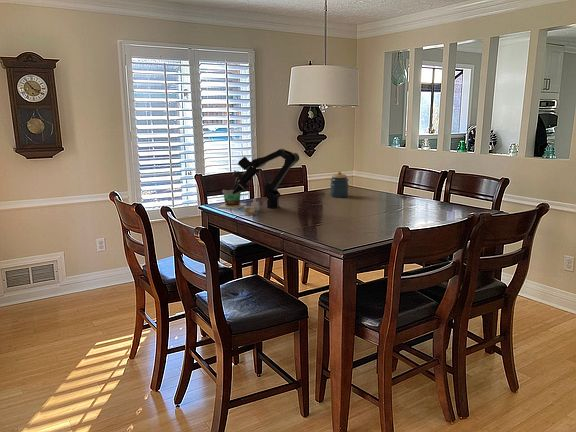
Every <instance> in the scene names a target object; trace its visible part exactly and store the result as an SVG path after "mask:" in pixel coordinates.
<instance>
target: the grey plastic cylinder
mask: <svg viewBox="0 0 576 432" xmlns="http://www.w3.org/2000/svg"><path fill="white" fill-rule="evenodd" d="M250 206H254V207H255V213H257V212H260V202H259V201H252V202H250ZM256 211H257V212H256Z"/></svg>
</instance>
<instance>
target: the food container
mask: <svg viewBox="0 0 576 432" xmlns="http://www.w3.org/2000/svg"><path fill="white" fill-rule="evenodd" d="M233 191H234V190H232V189H229V190H228V189H222V191H221V192H222V194H223V199H224V204H225V205H228V206H235V205H239V204H240V203H241V193H242V191H243V190H242V191H240V192H237V193H235V194H233Z"/></svg>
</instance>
